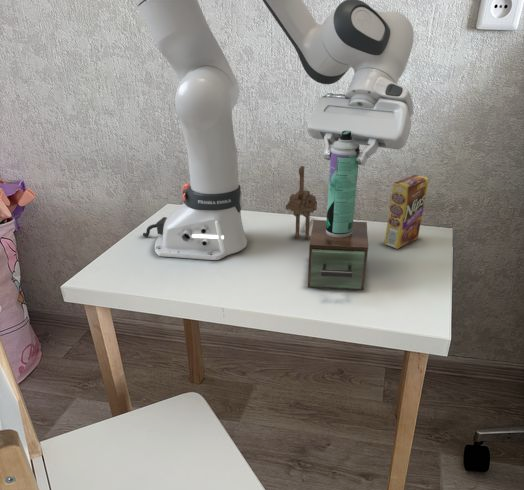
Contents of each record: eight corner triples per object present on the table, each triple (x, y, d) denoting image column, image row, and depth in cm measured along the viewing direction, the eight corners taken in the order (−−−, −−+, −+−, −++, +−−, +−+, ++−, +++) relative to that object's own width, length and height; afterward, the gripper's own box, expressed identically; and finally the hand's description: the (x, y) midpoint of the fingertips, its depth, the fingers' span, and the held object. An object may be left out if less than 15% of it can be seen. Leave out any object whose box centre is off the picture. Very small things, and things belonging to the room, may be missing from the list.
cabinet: (363, 290, 110) (368, 247, 105) (307, 287, 111) (309, 244, 106) (362, 262, 121) (366, 221, 116) (311, 259, 123) (313, 219, 117)
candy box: (398, 250, 126) (407, 186, 118) (383, 245, 129) (391, 182, 120) (419, 239, 131) (429, 177, 123) (404, 234, 134) (413, 173, 125)
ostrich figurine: (311, 245, 129) (314, 170, 119) (284, 242, 131) (285, 168, 121) (324, 220, 143) (328, 151, 132) (300, 218, 144) (302, 149, 134)
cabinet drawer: (361, 298, 105) (365, 262, 101) (308, 295, 107) (310, 260, 102) (360, 262, 119) (363, 229, 114) (313, 260, 120) (315, 227, 116)
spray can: (351, 227, 113) (360, 128, 101) (352, 238, 108) (362, 135, 97) (325, 226, 113) (331, 127, 102) (325, 237, 109) (332, 134, 97)
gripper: (316, 82, 105) (290, 144, 104) (417, 90, 96) (389, 158, 95) (325, 103, 111) (301, 162, 109) (421, 112, 101) (395, 177, 100)
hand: (343, 160), depth 102 cm, fingers closed on spray can, 5 cm apart
